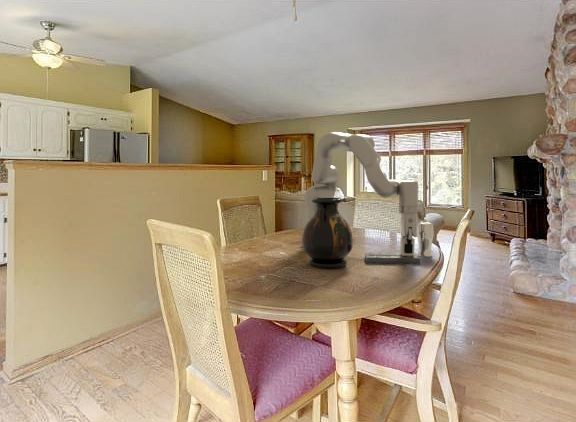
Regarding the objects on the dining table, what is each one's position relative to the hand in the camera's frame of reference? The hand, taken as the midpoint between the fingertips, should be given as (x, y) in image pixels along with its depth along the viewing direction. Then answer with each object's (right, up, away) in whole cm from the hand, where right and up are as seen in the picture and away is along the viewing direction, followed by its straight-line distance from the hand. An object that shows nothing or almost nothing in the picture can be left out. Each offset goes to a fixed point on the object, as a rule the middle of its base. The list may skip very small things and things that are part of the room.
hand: (407, 251), depth 152 cm
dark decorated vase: (-35, -6, -2) cm, 35 cm away
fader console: (-6, -4, +1) cm, 8 cm away
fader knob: (0, -1, 0) cm, 1 cm away
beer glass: (+11, -3, +10) cm, 15 cm away
